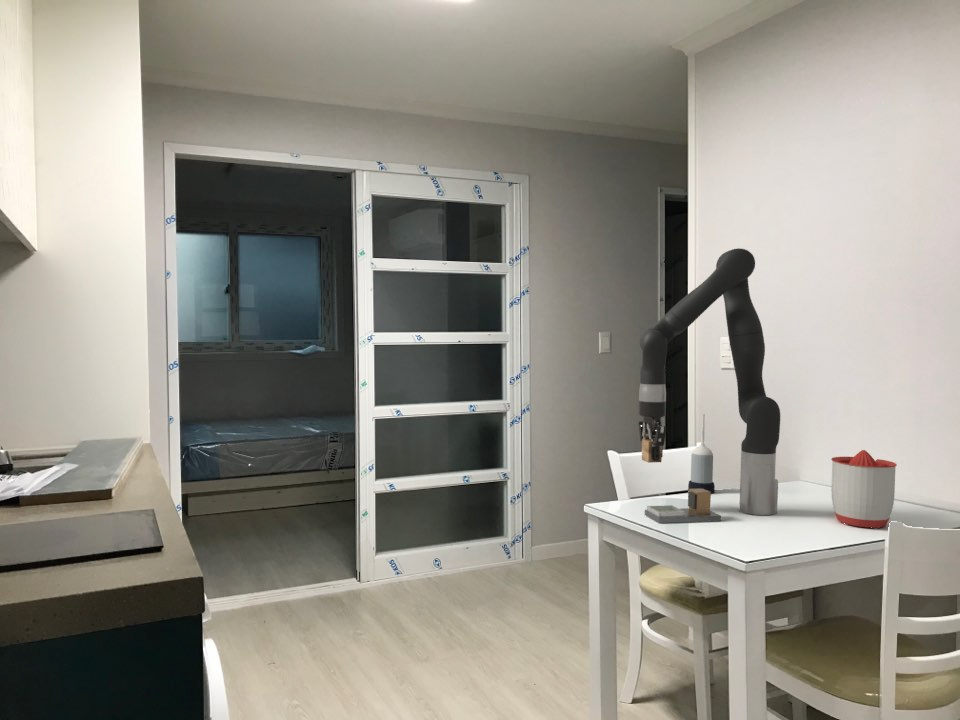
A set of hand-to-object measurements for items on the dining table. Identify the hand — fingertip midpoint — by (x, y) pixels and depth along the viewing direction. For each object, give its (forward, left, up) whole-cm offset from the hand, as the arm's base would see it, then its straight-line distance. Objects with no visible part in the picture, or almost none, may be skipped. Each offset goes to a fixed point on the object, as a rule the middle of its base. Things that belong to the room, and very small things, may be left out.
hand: (651, 458), depth 208 cm
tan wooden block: (0, 0, -1) cm, 1 cm away
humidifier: (-27, -20, -15) cm, 37 cm away
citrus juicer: (-51, +23, -15) cm, 58 cm away
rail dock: (-4, +12, -14) cm, 19 cm away
